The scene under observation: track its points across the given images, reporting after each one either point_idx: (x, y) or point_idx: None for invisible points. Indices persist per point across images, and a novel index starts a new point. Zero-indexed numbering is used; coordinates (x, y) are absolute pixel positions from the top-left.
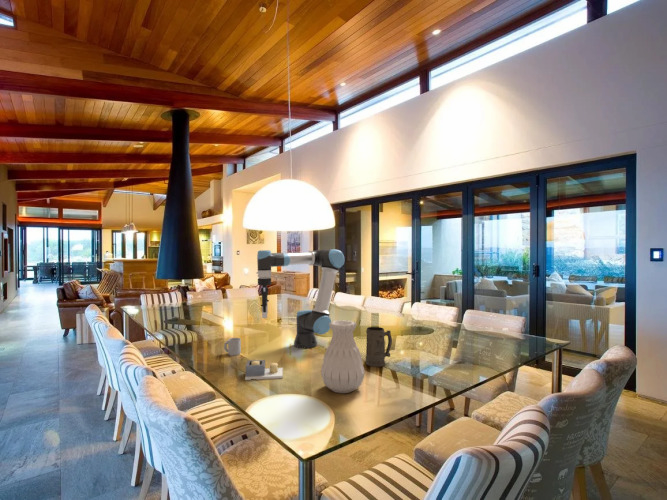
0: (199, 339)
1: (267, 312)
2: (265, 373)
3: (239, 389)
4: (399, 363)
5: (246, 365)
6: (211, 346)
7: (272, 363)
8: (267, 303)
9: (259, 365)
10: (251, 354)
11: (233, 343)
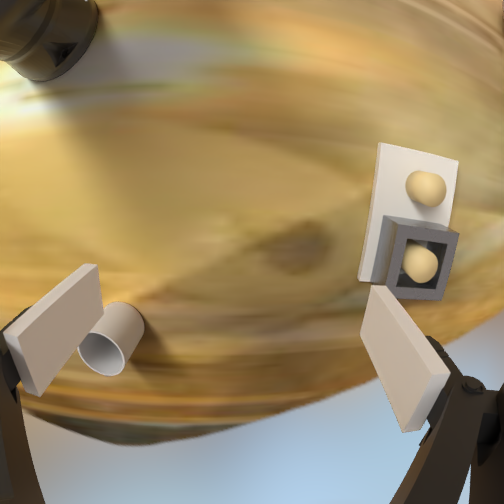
0: None
1: (93, 270)
2: (423, 217)
3: (479, 293)
4: None
5: (435, 298)
6: None
7: (425, 194)
8: (30, 326)
9: (453, 251)
10: (132, 259)
11: (128, 353)
